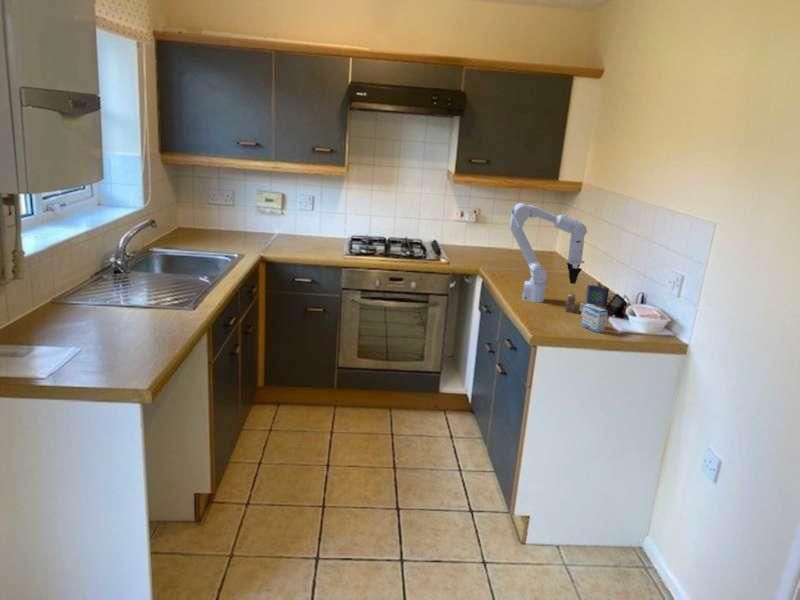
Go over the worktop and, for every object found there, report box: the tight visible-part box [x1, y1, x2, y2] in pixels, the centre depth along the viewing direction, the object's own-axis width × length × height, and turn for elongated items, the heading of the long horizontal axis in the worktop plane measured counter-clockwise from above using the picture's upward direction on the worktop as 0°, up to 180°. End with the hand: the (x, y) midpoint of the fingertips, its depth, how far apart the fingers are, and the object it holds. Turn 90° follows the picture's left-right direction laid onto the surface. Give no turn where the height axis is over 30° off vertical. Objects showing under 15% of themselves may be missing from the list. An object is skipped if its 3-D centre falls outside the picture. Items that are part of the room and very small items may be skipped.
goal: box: [579, 302, 594, 317], centre depth 247 cm, size 5×9×3 cm, turn 167°
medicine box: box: [581, 304, 609, 333], centre depth 228 cm, size 8×4×9 cm, turn 31°
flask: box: [584, 281, 610, 307], centre depth 261 cm, size 9×3×11 cm, turn 59°
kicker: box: [565, 293, 580, 315], centre depth 247 cm, size 5×5×7 cm
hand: (572, 281), depth 259 cm, fingers open, 7 cm apart
